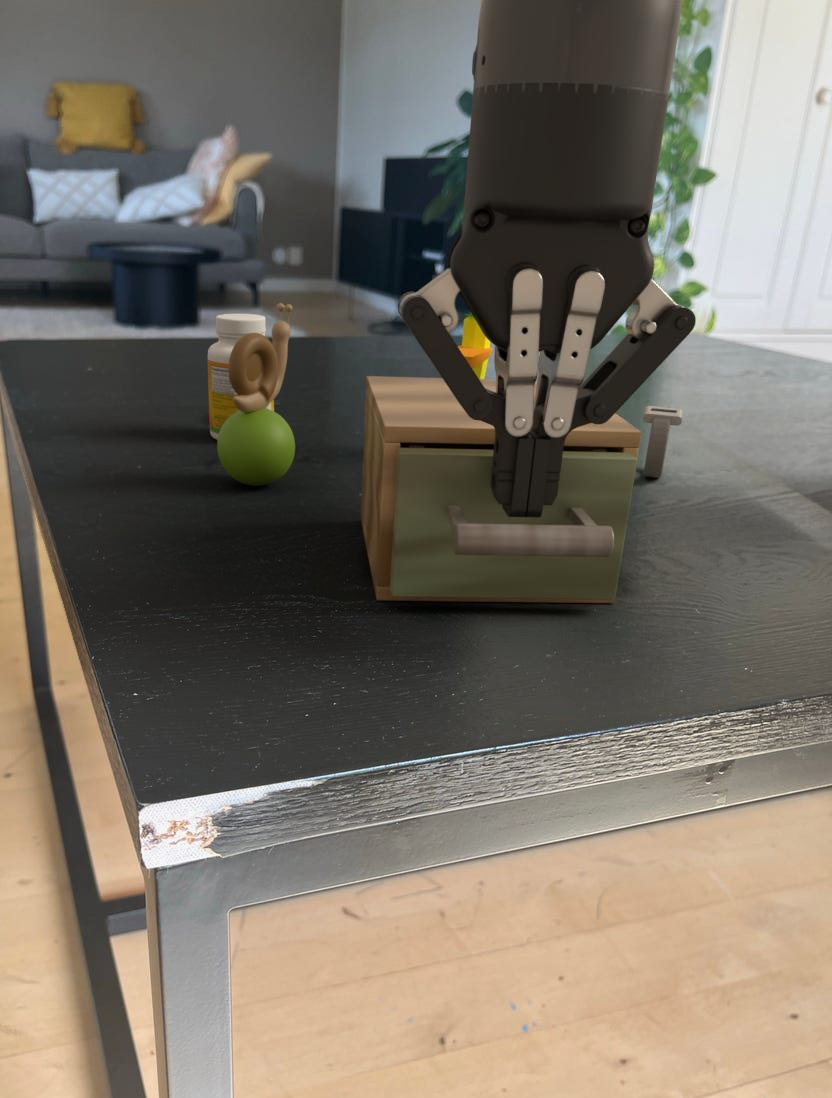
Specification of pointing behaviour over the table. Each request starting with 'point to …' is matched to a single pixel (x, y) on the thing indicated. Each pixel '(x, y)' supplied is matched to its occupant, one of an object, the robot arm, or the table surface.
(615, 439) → the cabinet
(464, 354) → the toy figure
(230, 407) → the supplement bottle
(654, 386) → the table surface
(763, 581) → the table surface
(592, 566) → the drawer
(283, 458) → the snail figurine
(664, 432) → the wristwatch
